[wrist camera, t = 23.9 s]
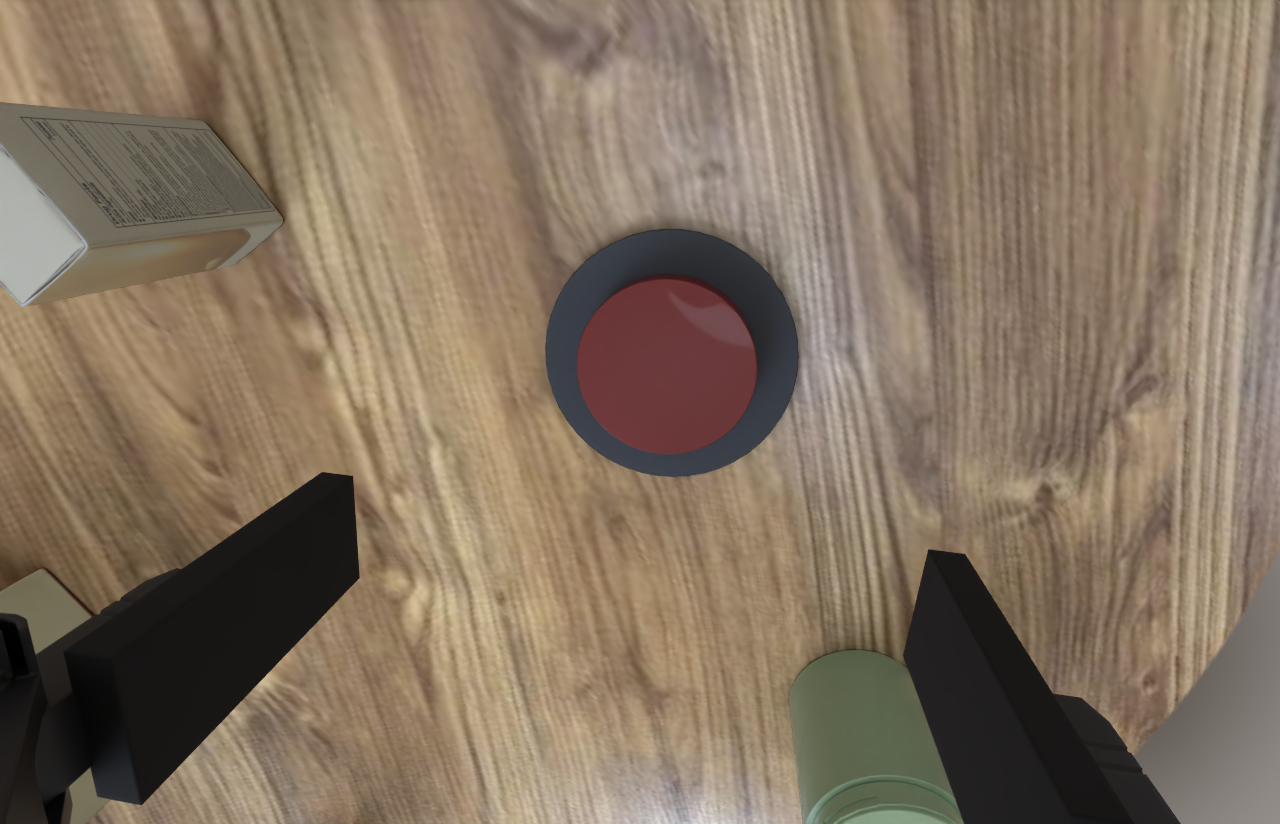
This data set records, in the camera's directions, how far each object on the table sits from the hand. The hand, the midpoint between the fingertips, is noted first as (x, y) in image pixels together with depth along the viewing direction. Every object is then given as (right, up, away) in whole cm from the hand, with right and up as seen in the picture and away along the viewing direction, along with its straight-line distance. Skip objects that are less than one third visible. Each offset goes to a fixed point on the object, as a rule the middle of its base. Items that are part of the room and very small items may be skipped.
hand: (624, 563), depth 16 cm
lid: (+2, +6, +18) cm, 19 cm away
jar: (+13, -14, +25) cm, 32 cm away
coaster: (+2, +6, +20) cm, 21 cm away
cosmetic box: (-21, +15, +20) cm, 33 cm away
